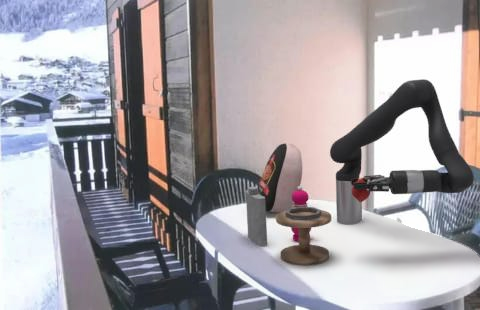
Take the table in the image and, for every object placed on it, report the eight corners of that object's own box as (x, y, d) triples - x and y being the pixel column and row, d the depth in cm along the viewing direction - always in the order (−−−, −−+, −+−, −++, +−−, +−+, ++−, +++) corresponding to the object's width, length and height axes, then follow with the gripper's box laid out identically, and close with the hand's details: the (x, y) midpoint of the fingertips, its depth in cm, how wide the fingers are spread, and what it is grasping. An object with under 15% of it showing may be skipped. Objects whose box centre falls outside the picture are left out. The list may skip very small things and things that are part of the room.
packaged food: (253, 207, 250) (250, 142, 246) (295, 203, 254) (292, 139, 249) (264, 220, 229) (261, 148, 225) (309, 215, 233) (307, 145, 228)
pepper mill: (314, 237, 202) (312, 184, 199) (308, 243, 196) (306, 188, 193) (295, 235, 206) (293, 183, 202) (288, 241, 199) (286, 187, 196)
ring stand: (312, 244, 195) (311, 201, 192) (343, 258, 179) (342, 212, 176) (268, 254, 187) (265, 209, 184) (296, 270, 171) (294, 221, 168)
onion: (371, 200, 178) (370, 175, 177) (369, 204, 173) (369, 179, 172) (353, 199, 180) (352, 175, 179) (350, 204, 175) (350, 179, 174)
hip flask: (268, 245, 196) (266, 191, 193) (257, 247, 195) (255, 192, 192) (254, 233, 211) (252, 182, 208) (244, 235, 210) (242, 183, 207)
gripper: (401, 166, 181) (349, 168, 182) (411, 175, 167) (355, 177, 168) (401, 188, 182) (349, 190, 184) (411, 199, 168) (355, 201, 169)
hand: (352, 184), depth 176 cm, fingers closed on onion, 5 cm apart
